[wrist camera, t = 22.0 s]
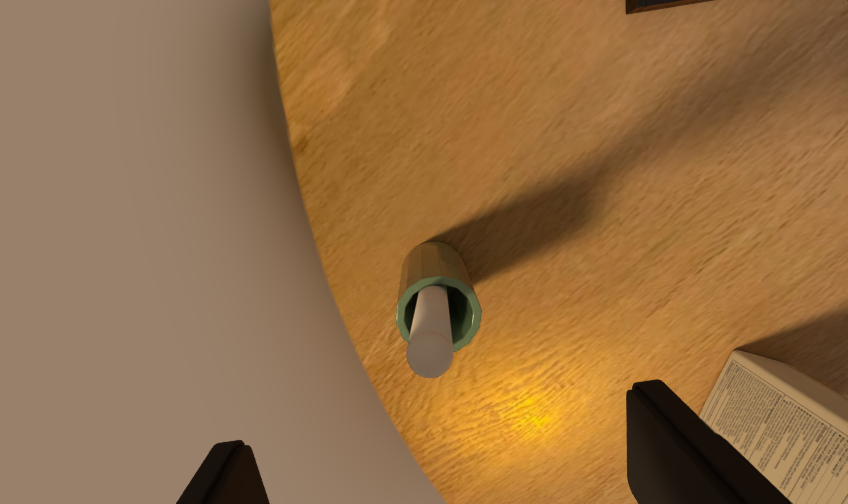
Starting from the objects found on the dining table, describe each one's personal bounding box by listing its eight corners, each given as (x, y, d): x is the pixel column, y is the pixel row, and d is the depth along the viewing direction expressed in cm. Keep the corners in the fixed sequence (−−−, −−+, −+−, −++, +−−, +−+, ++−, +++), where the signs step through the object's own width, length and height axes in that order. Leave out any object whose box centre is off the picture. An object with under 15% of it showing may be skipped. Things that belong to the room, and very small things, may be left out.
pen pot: (396, 246, 25) (388, 283, 18) (461, 236, 25) (476, 270, 18) (407, 304, 26) (402, 360, 19) (468, 295, 26) (486, 348, 19)
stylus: (421, 265, 25) (401, 342, 11) (443, 262, 25) (451, 335, 11) (424, 287, 25) (408, 389, 11) (446, 284, 25) (457, 383, 11)
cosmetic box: (746, 434, 29) (968, 631, 17) (690, 420, 29) (878, 611, 17) (789, 359, 28) (1064, 519, 16) (731, 344, 27) (968, 496, 15)
